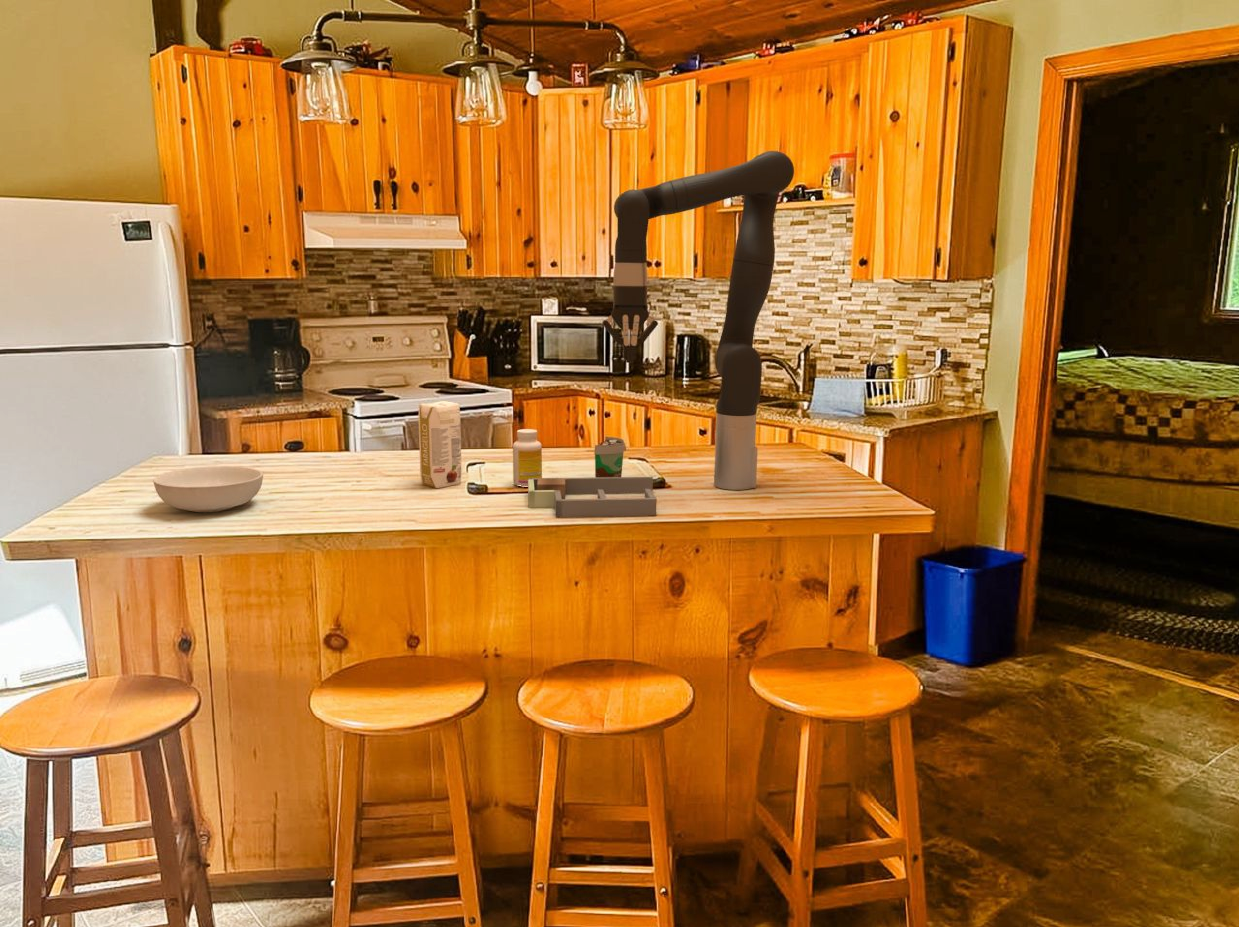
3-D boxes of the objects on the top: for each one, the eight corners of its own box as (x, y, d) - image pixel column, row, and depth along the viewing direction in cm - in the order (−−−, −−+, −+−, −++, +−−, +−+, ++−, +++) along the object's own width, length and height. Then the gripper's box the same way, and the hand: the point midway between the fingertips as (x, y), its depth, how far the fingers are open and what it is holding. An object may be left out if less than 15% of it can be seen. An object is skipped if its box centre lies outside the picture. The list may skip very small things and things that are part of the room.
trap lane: (651, 491, 216) (652, 476, 215) (665, 515, 196) (666, 499, 195) (528, 493, 213) (528, 478, 212) (529, 517, 193) (529, 501, 192)
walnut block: (565, 495, 212) (565, 478, 212) (565, 502, 207) (565, 484, 206) (538, 495, 212) (538, 478, 211) (537, 502, 206) (537, 484, 205)
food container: (620, 489, 218) (620, 446, 216) (594, 488, 219) (594, 445, 217) (630, 478, 230) (631, 437, 228) (605, 476, 231) (605, 436, 229)
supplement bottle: (547, 485, 221) (547, 431, 218) (523, 489, 217) (523, 434, 214) (531, 480, 226) (531, 427, 223) (507, 484, 222) (507, 430, 219)
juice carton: (466, 483, 222) (464, 403, 218) (435, 489, 215) (433, 407, 211) (446, 478, 227) (444, 399, 223) (416, 484, 220) (413, 403, 216)
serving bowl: (261, 516, 192) (259, 483, 190) (147, 523, 186) (144, 489, 185) (268, 493, 211) (266, 462, 210) (165, 498, 205) (162, 467, 204)
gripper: (657, 283, 214) (656, 360, 218) (599, 283, 213) (598, 360, 217) (662, 284, 207) (660, 364, 211) (602, 284, 206) (601, 364, 209)
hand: (629, 362), depth 214 cm, fingers closed
